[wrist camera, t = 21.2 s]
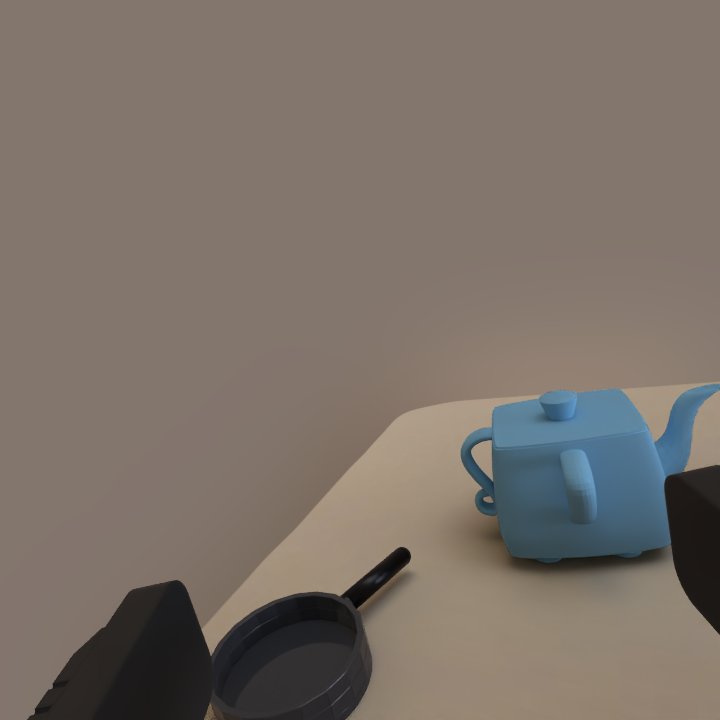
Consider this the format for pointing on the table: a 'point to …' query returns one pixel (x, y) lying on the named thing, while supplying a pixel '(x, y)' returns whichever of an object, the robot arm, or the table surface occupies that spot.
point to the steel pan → (293, 661)
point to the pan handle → (377, 577)
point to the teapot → (581, 473)
